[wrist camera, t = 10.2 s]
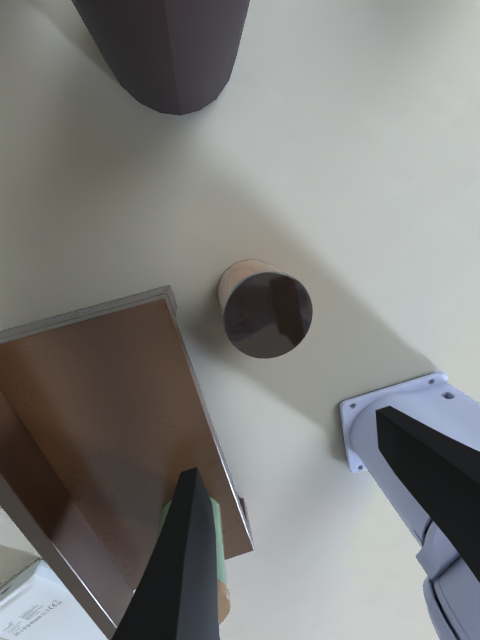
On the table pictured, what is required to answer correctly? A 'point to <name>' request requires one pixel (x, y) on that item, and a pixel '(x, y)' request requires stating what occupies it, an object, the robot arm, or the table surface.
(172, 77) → the vinegar
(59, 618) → the hard drive
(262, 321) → the ochre jar
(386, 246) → the table surface
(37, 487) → the spice shelf
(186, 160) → the table surface
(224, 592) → the sage jar
